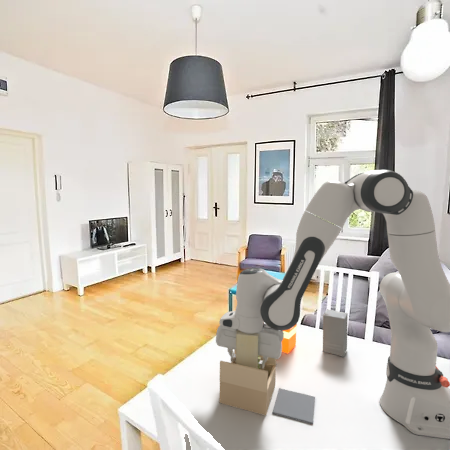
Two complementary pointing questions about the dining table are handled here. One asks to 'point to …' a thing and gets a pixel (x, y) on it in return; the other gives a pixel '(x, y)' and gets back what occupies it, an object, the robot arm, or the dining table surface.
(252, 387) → the carton
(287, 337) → the orange juice
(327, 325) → the skincare box
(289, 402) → the mat
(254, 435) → the dining table surface
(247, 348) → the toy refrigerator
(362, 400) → the dining table surface
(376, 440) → the dining table surface
